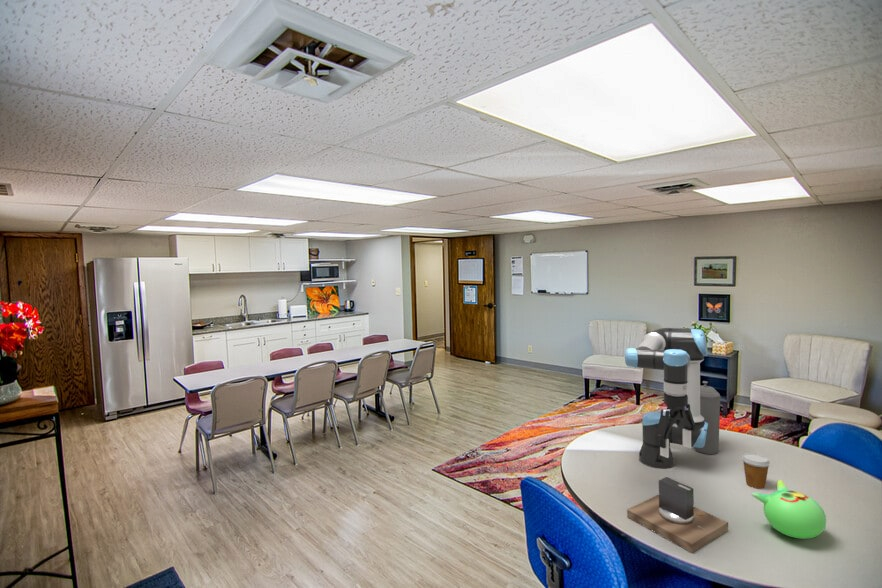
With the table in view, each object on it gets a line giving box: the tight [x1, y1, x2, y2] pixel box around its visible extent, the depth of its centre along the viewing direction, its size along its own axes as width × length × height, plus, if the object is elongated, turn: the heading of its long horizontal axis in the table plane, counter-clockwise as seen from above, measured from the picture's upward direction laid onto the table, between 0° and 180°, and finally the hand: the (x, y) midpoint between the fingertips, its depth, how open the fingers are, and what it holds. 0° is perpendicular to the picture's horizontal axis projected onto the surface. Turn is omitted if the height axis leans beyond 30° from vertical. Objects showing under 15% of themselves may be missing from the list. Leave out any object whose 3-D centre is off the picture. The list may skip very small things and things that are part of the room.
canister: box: [692, 380, 721, 455], centre depth 212 cm, size 13×13×35 cm
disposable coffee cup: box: [741, 452, 771, 490], centre depth 178 cm, size 10×10×12 cm
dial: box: [658, 476, 695, 524], centre depth 153 cm, size 11×11×12 cm
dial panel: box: [626, 494, 729, 554], centre depth 153 cm, size 24×22×3 cm
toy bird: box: [751, 479, 827, 540], centre depth 146 cm, size 18×17×15 cm
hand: (675, 451), depth 152 cm, fingers open, 13 cm apart
